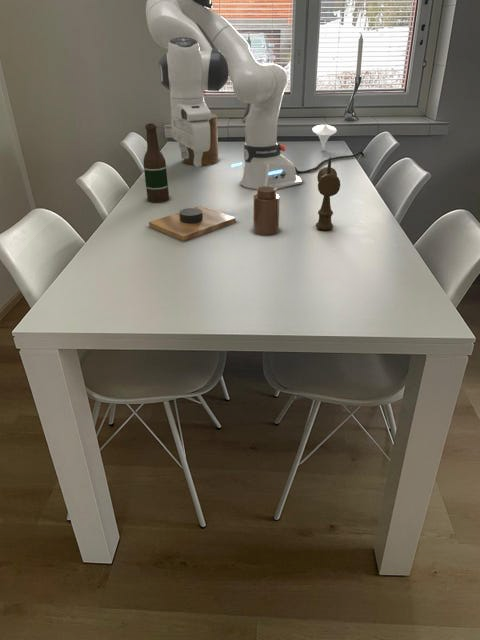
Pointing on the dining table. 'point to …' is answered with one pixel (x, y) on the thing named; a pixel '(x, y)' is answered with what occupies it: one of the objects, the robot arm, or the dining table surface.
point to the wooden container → (212, 154)
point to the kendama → (327, 195)
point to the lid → (191, 215)
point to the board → (189, 231)
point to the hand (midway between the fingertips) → (191, 162)
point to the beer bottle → (155, 168)
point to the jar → (266, 211)
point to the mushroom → (324, 133)
